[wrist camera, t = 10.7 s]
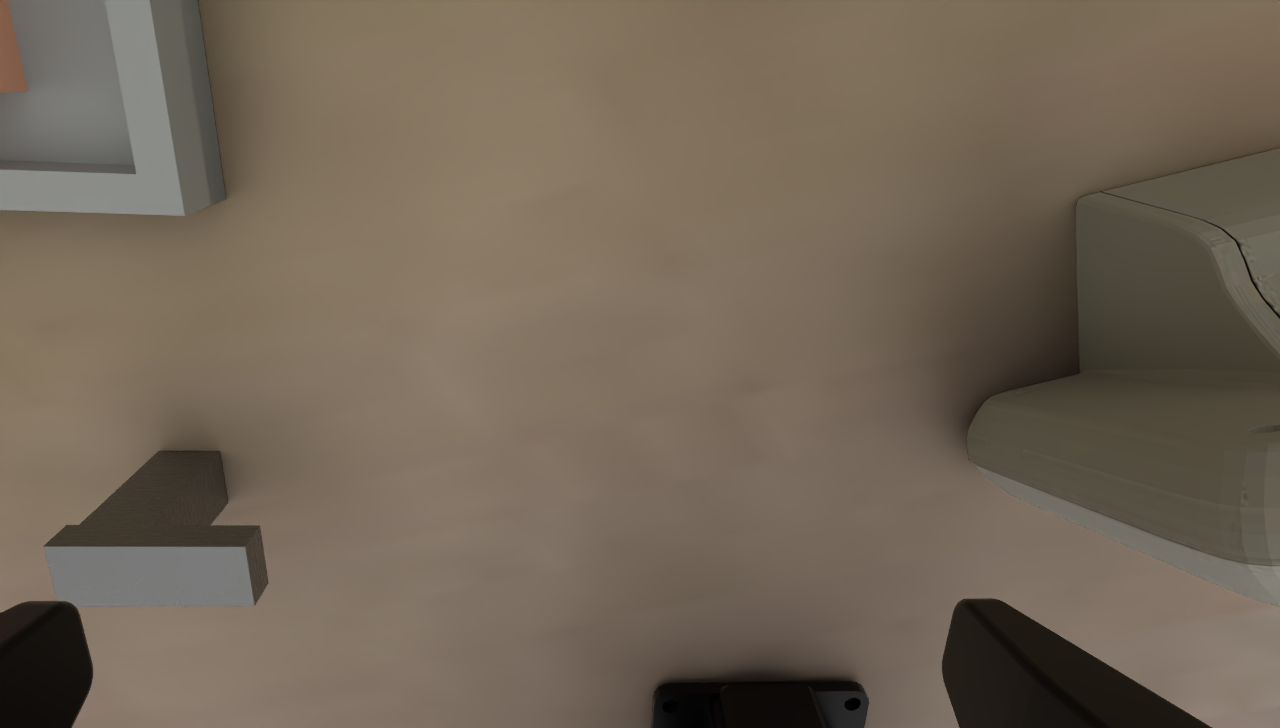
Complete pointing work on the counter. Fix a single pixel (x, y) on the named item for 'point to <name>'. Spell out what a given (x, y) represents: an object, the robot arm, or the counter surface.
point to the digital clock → (1164, 380)
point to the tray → (110, 110)
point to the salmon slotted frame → (9, 54)
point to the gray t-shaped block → (160, 542)
